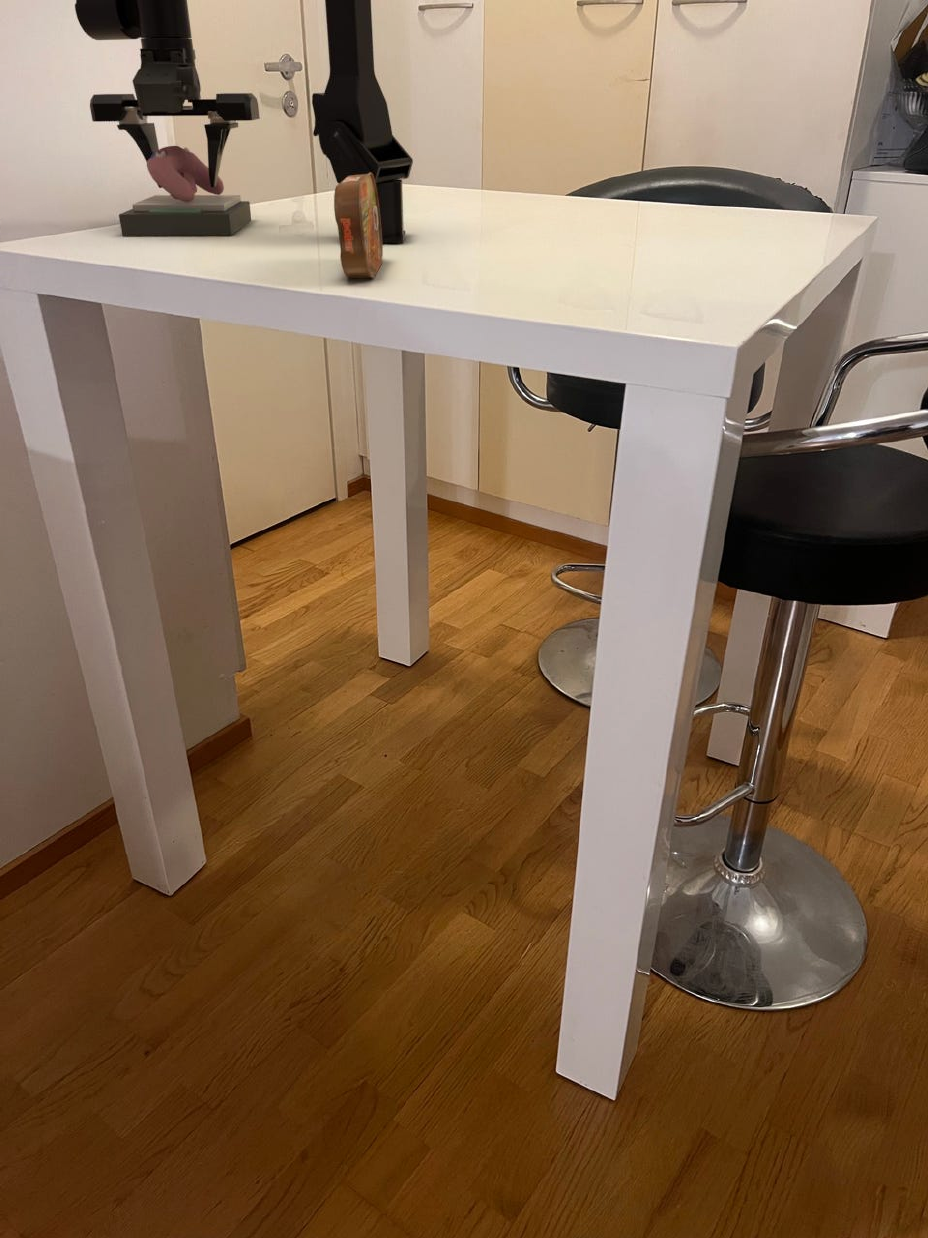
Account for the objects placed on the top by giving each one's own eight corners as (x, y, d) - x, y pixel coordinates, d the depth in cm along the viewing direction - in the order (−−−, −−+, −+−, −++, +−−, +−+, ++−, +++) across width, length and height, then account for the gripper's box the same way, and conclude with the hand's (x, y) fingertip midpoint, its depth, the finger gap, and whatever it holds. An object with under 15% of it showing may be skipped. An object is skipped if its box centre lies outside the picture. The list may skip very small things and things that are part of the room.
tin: (370, 285, 85) (364, 183, 81) (335, 285, 85) (328, 183, 81) (385, 257, 98) (381, 168, 94) (355, 257, 98) (350, 168, 94)
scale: (251, 220, 123) (248, 194, 121) (231, 235, 112) (228, 206, 110) (152, 221, 123) (148, 194, 121) (122, 235, 111) (117, 206, 110)
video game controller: (201, 206, 121) (171, 152, 119) (229, 189, 119) (199, 134, 117) (165, 216, 113) (132, 158, 110) (194, 198, 111) (161, 138, 109)
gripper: (59, 36, 101) (89, 194, 109) (233, 35, 101) (250, 193, 109) (94, 39, 110) (119, 185, 118) (252, 39, 111) (267, 184, 118)
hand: (187, 187), depth 116 cm, fingers closed on video game controller, 6 cm apart
